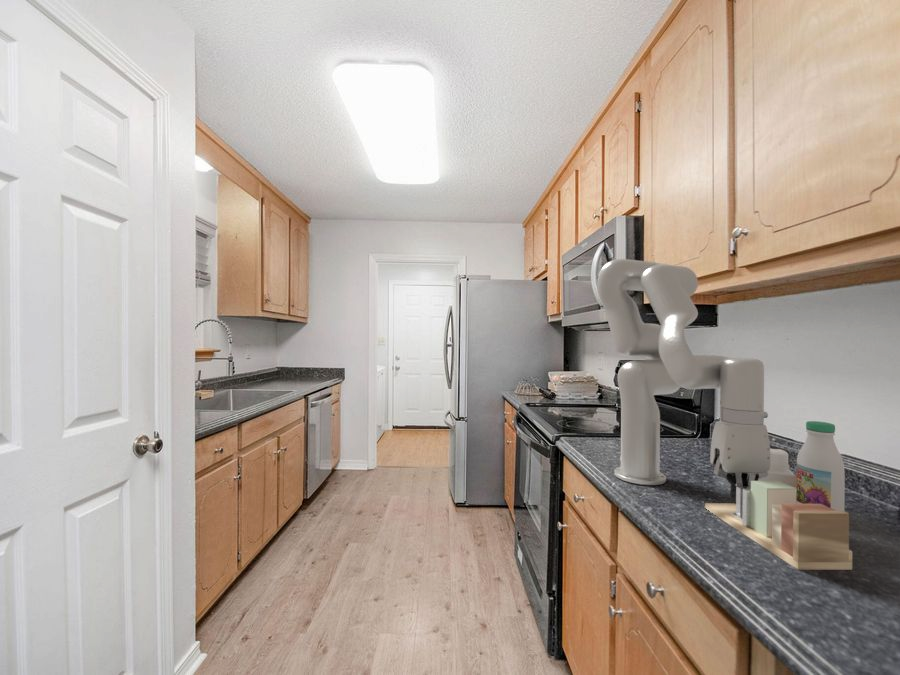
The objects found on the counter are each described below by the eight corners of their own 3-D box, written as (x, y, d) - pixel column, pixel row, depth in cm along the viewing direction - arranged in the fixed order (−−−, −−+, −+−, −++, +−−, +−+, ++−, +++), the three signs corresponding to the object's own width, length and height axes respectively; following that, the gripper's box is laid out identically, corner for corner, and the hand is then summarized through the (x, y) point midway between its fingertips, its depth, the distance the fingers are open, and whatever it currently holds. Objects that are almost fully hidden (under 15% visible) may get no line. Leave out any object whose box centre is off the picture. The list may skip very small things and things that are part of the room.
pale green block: (750, 527, 80) (750, 480, 80) (778, 527, 80) (778, 480, 80) (766, 537, 76) (767, 488, 76) (796, 537, 76) (796, 488, 76)
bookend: (728, 515, 85) (728, 481, 85) (762, 515, 85) (763, 481, 85) (746, 526, 80) (746, 490, 80) (782, 526, 80) (783, 490, 80)
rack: (704, 508, 92) (705, 467, 92) (745, 508, 92) (745, 467, 92) (798, 569, 68) (798, 513, 68) (852, 569, 68) (852, 513, 68)
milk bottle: (820, 509, 92) (821, 419, 92) (855, 525, 84) (856, 426, 84) (786, 509, 92) (787, 419, 92) (818, 525, 84) (819, 426, 84)
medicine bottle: (751, 490, 103) (751, 442, 103) (787, 496, 99) (788, 446, 99) (756, 500, 96) (757, 449, 96) (795, 506, 93) (796, 453, 93)
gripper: (762, 413, 91) (761, 497, 91) (695, 413, 90) (694, 497, 90) (791, 420, 83) (790, 512, 83) (718, 420, 83) (717, 512, 83)
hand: (740, 504), depth 87 cm, fingers closed
